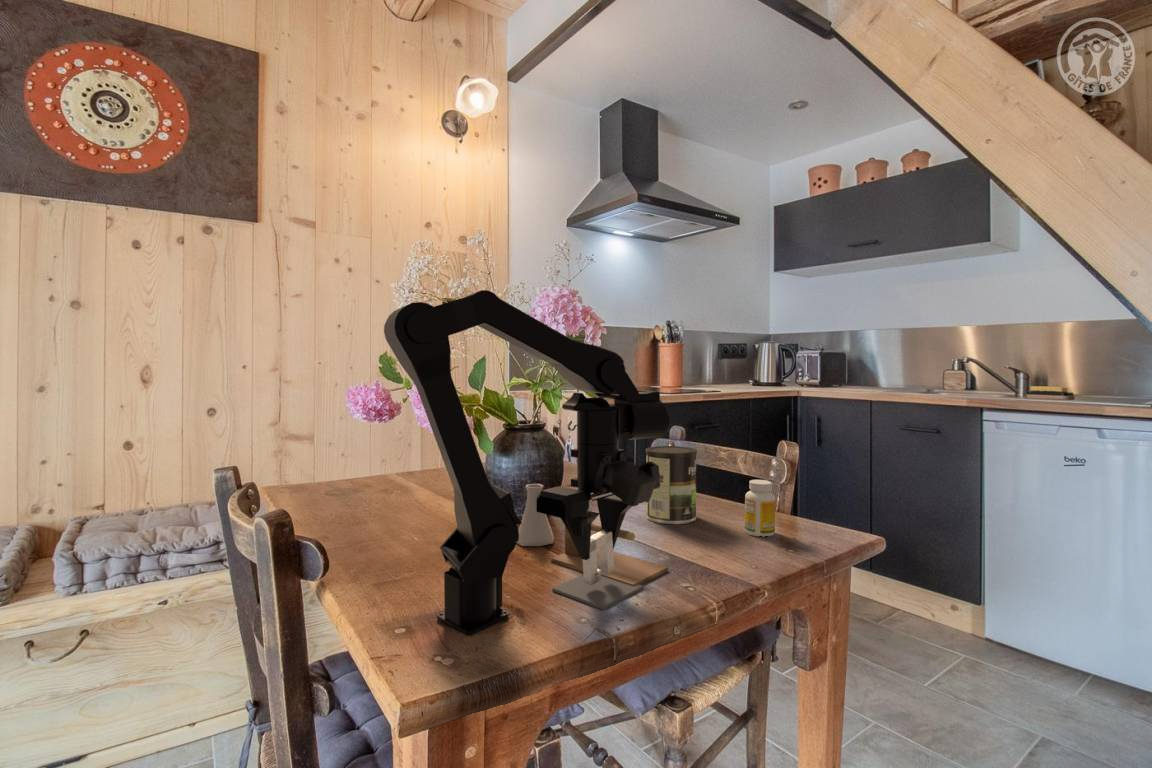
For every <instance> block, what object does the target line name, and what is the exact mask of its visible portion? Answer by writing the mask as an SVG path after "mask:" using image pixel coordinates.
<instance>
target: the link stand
mask: <svg viewBox="0 0 1152 768" xmlns="http://www.w3.org/2000/svg"><path fill="white" fill-rule="evenodd" d="M600 531H602V527H601V523H596V522H592V524H591V532H596V533H598V532H600ZM617 538H619V539H624V540H627V541H633V540H635V538H636V535H635V533H634V532H632V531H628V530H624V529H621V528H620V531H619V534H618V537H617ZM596 551H597V569H599V570H600V557H599V548H598V549H596ZM613 558H614V573H612V574H610V575H609V576H608V575H604V574H601V576H604V577H607V578H610V579H613V580H616V581H619V582H623V583H626V584H629V585H632V586H634V585H636V584H639V585H643V584H645V583H647V582H650V581H651V580H653V579H656V578H657V577H659V576H661V575H663V574H665V573H666V572H668V571H669V566H666V565H662V564H659V563H656V562H653V561H652V562H651V561H648V560H645V559H641V558H638V557H634V556H631V555H628V554H627V555H626V554H624V553H621V552H620V553H619V552H616V551H613ZM550 559H551V561H550V562H551V563H554V564H557V565H560V566H561V567H562V566H563V567H567V568H569V569H572V570H576V571H577V572H578V571H579V572H581V573H583V560H582V559H581V557H580V555H579V553H578V551H577V549H576V547H575V545H574V543H573V540H572V538H571V536H570V534H569V532H568V530H567V528H566V527H565V526H564V553H561V554H558V555H556V556H553V557H551V558H550Z"/></svg>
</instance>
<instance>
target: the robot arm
mask: <svg viewBox="0 0 1152 768" xmlns="http://www.w3.org/2000/svg"><path fill="white" fill-rule="evenodd" d="M475 327H480V328H481V329H483V330H485V331H487V332H489V333H490V334H492V335H494V336H496V337H498V338H501V339H502V340H504V341H506V342H507V343H510V344H511V345H513V346H515V347H517V348H519V349H521V350H523V351H525V352H527V353H528V354H530V355H532V356H534V357H537V358H538V359H540V360H542V361H543V362H545V363H548V364H549V365H550V366H551V367H553V368H554V369H556V371H557V373H558V374H559V375H560V376H561V377H562V378H563V379H564V380H565V381H567V382H568V383H569V384H571V386H573V387H574V388H576V389H577V390H579V391H581V392H573V394H572V395H571V397H570V398H569V399H568V400H567V401H565V402H564V403H563V404H562V407H561V408H562V410H567V411H571V412H576V414H577V415H576V440H577V441H576V448H572V449H570V458H576V477H573V478H570V487H574V488H569V487H566V486H565V487H564V486H554V487H550V488H547V489H542V490H541V492H540V493H539V494H538V495H537V498H536V511H537V512H539V513H543V514H546V516H552V517H555V518H560V520H561V522H562V523H563V525H564V528H565V527H566V528H567V530H568V532H569V534H570V536H571V538H572V540H573V543H574V545H575V547H576V549H577V551H578V553H579V555H580V557H581V559H584V560H588V559H589V553H590V540H591V536H592V530H591V524H592V523H594V521H595V520H596V519H597V518H598V516H599V521H600V525H601V527H602V530H604V529H605V530H609V531H612V540H613V550H614V549H615V546H616V543H617V539H618V538H619V537H618V534H619V531H620V529H621V528H622V524H623V521H624V519H625V517H626V513H627V512H628V511H629V510H631V508H633V507H637V506H639V505H640V504H642V503H646V502H649V501H650V499H651V495H652V492H653V490H654V489H657V488H659V487H660V483H659V479H660V474H659V466H658V465H657V464H655V463H653V462H651V461H650V462H643V463H642V464H641V465H640V466H639V464H631V463H629V462H627V461H628V460H627V453H626V450H625V449H622V448H619V437H621V438H622V439H624V440H626V441H629V440H630V441H631V440H641V439H644V440H645V439H656V438H657V439H658V438H662V437H663V436H665V434H667V431H668V429H669V425H670V415H669V414H668V410H667V408H666V405H665V404H664V402H663V401H661V394H660V393H661V392H659V391H652V390H651V391H648V390H646V391H642V392H639V390H638V389H637V388H636V385H635V384H634V382H633V381H632V379H631V377H630V376H629V374H628V373H627V371H626V367H625V364H624V363H625V360H624V359H623V358H622V356H621V355H620V354H618V353H617V352H615V351H612V350H610V349H607V348H604V347H602V346H598V345H593V344H590V343H586V342H582V341H578V340H575V339H572V338H570V337H568V336H566V335H565V334H563V333H561V332H560V331H557V330H555V329H554V328H553V327H551V326H549V325H547V324H546V323H544V322H542V321H540V320H539V319H536V318H534V317H533V316H531V315H529V313H528V314H527V313H526V312H524V311H523V310H520V309H519V308H517V307H515V306H513V304H510V303H508V302H506V300H503V299H501V298H500V297H499V296H498V295H497V294H496V293H494V292H493V291H491V290H488V289H482V290H479V291H476V292H472V293H470V294H467V295H466V296H465V297H462V298H458V299H455V300H452V301H448V302H445V303H444V302H443V303H442V304H438V305H432V304H431V303H428V302H421V301H415V302H411V303H407V304H406V305H404V306H401V307H400V308H398V309H395V310H394V311H393V312H391V314H389V315H388V316H387V319H386V321H385V323H384V325H383V332H384V338H385V340H386V342H387V344H388V346H389V347H390V349H391V350H392V353H393V354H394V356H395V357H396V359H397V362H399V364H400V366H401V367H402V369H403V370H404V371H405V373H406V374H407V376H409V378H410V379H411V381H412V382H413V384H414V386H415V388H416V390H417V393H418V395H419V398H420V401H421V403H422V406H423V410H424V412H425V415H426V417H427V420H428V423H429V426H430V428H431V431H432V433H433V436H434V440H435V442H436V444H437V447H438V450H439V452H440V455H441V457H442V460H443V463H444V464H443V465H445V469H446V471H447V474H448V477H449V480H450V482H451V485H452V488H453V492H454V494H453V495H454V497H453V498H454V500H453V501H454V502H453V503H454V505H453V507H454V508H453V509H454V510H453V511H454V515H455V521H456V528H455V529H454V531H453V532H452V533H451V534H450V535H449V536H448V538H447V539H446V540H445V541H444V542H443V543H442V544H441V545H440V547H439V550H440V552H441V555H442V557H443V559H444V561H445V563H447V564H448V565H449V566H450V567H449V570H447V571H444V574H443V575H444V576H443V581H444V582H443V587H444V588H443V589H444V592H443V593H444V600H443V601H444V611H442V612H439V613H437V614H436V618H437V620H439V621H440V622H442V623H444V624H446V625H448V626H450V627H452V628H454V629H455V630H457V631H460V632H461V633H463V634H465V635H471V634H473V633H475V632H478V631H480V630H482V629H485V628H487V627H489V626H491V625H494V624H496V623H498V622H500V621H502V620H505V619H507V618H509V614H510V613H509V611H508V610H505V609H503V608H502V607H503V575H504V572H505V569H506V566H507V564H508V559H509V557H510V555H511V553H512V552H513V551H514V550H515V547H516V545H517V544H518V543H517V542H518V540H519V531H518V530H519V527H518V525H520V524H521V523H522V522H521V521H522V520H520V519H519V517H518V516H517V514H516V511H515V507H514V501H513V497H512V495H511V493H510V492H507V491H506V490H504V489H502V488H500V487H499V486H496V485H495V484H493V485H492V484H491V483H490V481H489V478H488V475H487V474H486V471H485V468H484V464H483V462H482V459H481V456H480V453H479V450H478V447H477V445H476V442H475V439H474V436H473V434H472V430H471V428H470V426H469V422H468V419H467V417H466V414H465V411H464V408H463V405H462V403H461V400H460V398H459V397H460V396H459V394H458V391H457V389H456V385H455V383H454V380H453V378H452V372H451V371H452V368H451V366H452V365H451V364H452V363H451V361H452V360H451V358H452V357H451V349H452V348H451V344H450V336H452V335H455V334H458V333H461V332H464V331H466V330H468V329H471V328H475ZM583 392H584V393H592V394H593V395H594V396H596V397H586V396H585V394H583ZM606 399H607V400H613V403H609V402H608V401H607V400H606ZM575 488H577V489H575ZM594 501H596V504H597V509H598V510H597V511H598V512H595V511H592V510H593V507H592V506H593V502H594Z"/></svg>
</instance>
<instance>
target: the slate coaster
mask: <svg viewBox="0 0 1152 768" xmlns="http://www.w3.org/2000/svg"><path fill="white" fill-rule="evenodd" d="M551 588H552V589H551V590H552V592H554V593H558V594H560V595H562V596H565V597H568V598H569V599H570V598H571V599H572V600H576V601H578V602H581V603H583V604H586V605H589V606H592V607H593V608H597V609H600V610H603V611H604V610H606V609H608V608H609V607H612V606H613V605H615V604H617V603H618V602H621V601H623V600H625V599H626V598H628V597H630V596H632V595H634V594H635V593H638V592H639V591H641V590H643V589H644V585H643V584H642V585H639V584H636V585H634V586H632V585H629V584H626V583H623V582H619V581H616V580H613V579H610V578H607V577H604V576H601V580H600V581H598V582H597V583H595V584H593V585H589V584H586V583H584V576H583V574H581V575H579V576H577V577H574V578H572V579H570V580H568V581H566V582H563V583H561V584H559V585H555V586H553V587H551Z"/></svg>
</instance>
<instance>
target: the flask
mask: <svg viewBox="0 0 1152 768" xmlns="http://www.w3.org/2000/svg"><path fill="white" fill-rule="evenodd" d="M525 490H526V492H527V493H526V494H527V495H526V502H525V509H524V511H523V514H522V519H521V520H520V521H521V522H522V523H521V524H519V527H518V531H519V540H518V542H517V543H516V544H518V545H520V546H522V547H542V546H546V545H552V544H554V541H555V535H554V532H553V530H552V527H551V524H550V522H549V520H548V519H549V518H548V515H547V514H543V513H539V512H537V511H536V498H537V495H538V494H539V493H540V492H541V490H544V484H542V483H531V484H529V483H528V484H526V485H525Z"/></svg>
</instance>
